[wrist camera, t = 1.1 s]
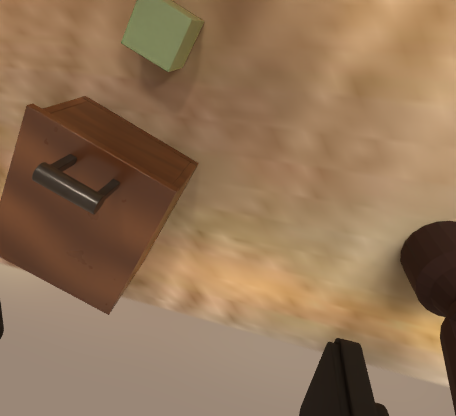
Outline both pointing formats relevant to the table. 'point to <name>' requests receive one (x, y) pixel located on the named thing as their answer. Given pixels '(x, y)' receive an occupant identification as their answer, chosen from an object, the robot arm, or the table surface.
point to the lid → (77, 210)
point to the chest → (128, 148)
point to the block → (162, 32)
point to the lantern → (436, 282)
